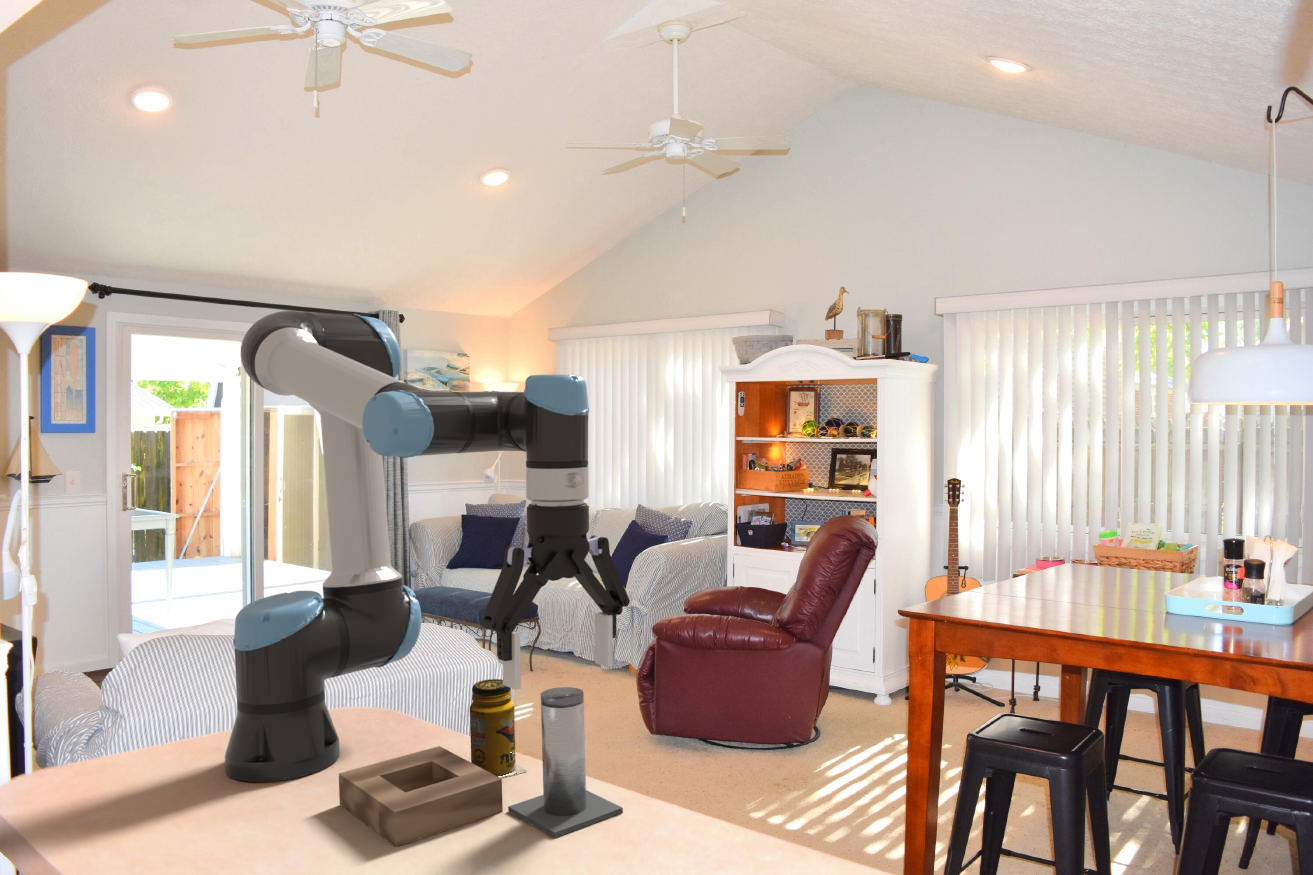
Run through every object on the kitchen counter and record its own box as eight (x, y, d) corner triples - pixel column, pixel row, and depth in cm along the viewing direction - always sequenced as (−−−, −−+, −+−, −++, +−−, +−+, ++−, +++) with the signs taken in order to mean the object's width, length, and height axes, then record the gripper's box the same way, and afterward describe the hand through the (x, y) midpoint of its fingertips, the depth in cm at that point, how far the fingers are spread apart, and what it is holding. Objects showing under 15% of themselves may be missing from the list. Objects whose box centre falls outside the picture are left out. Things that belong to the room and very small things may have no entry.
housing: (339, 804, 120) (338, 773, 120) (440, 775, 129) (439, 745, 129) (395, 846, 108) (394, 811, 107) (502, 810, 117) (501, 778, 117)
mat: (508, 811, 117) (508, 806, 117) (574, 788, 123) (574, 784, 123) (554, 837, 109) (554, 832, 109) (622, 812, 116) (622, 807, 116)
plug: (535, 806, 116) (532, 693, 116) (570, 794, 120) (567, 684, 119) (559, 819, 112) (556, 702, 112) (595, 807, 116) (592, 693, 115)
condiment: (527, 772, 129) (524, 684, 129) (468, 786, 125) (465, 696, 124) (504, 756, 135) (502, 673, 135) (447, 770, 131) (445, 683, 130)
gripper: (483, 513, 104) (486, 704, 105) (656, 496, 120) (657, 662, 121) (450, 507, 110) (452, 688, 111) (619, 492, 126) (620, 651, 127)
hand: (559, 675), depth 116 cm, fingers open, 13 cm apart
